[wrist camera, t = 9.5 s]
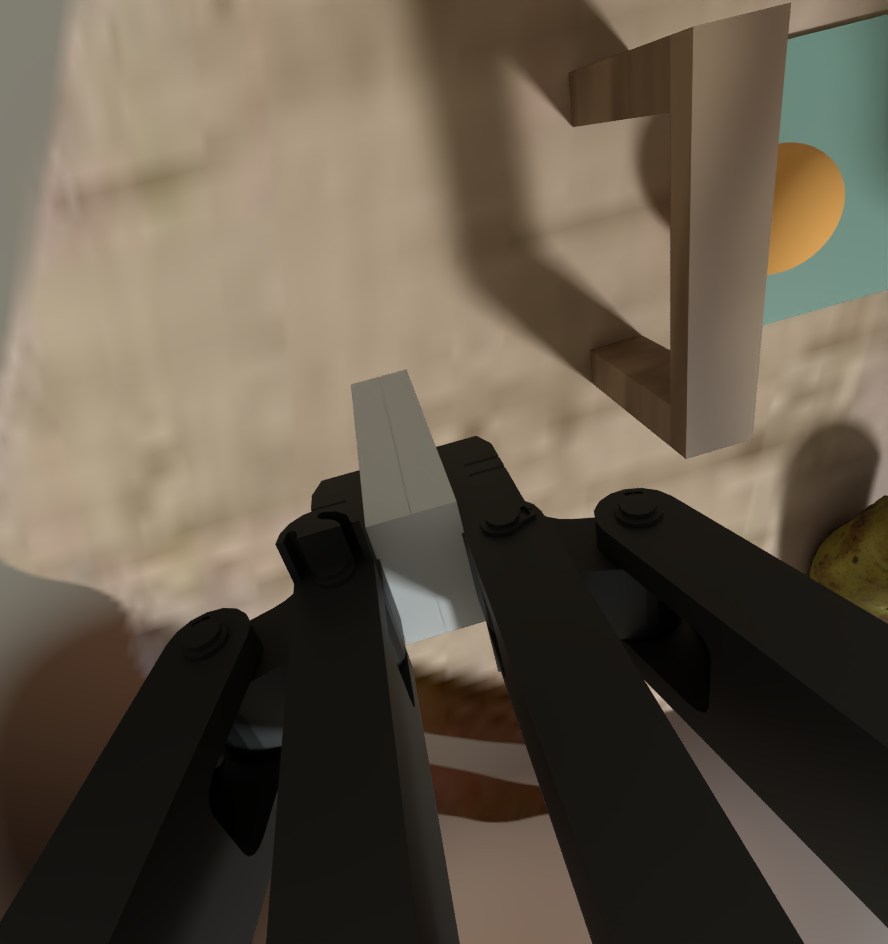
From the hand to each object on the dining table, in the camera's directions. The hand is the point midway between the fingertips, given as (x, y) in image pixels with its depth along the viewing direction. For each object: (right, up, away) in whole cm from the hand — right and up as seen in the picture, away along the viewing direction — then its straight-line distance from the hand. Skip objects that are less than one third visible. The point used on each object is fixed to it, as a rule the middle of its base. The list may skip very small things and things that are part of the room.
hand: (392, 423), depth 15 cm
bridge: (+10, +10, +12) cm, 19 cm away
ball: (+16, +11, +10) cm, 22 cm away
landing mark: (+23, +14, +13) cm, 30 cm away
